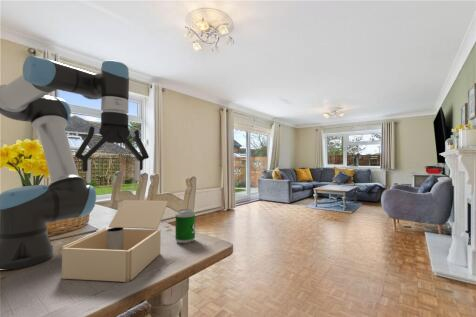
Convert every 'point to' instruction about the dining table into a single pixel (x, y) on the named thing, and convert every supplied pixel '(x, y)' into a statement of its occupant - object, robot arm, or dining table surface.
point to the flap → (139, 214)
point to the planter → (115, 238)
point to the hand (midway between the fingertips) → (114, 181)
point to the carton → (110, 256)
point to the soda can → (185, 226)
